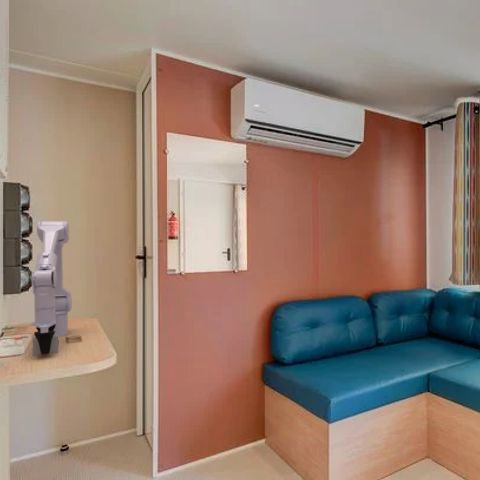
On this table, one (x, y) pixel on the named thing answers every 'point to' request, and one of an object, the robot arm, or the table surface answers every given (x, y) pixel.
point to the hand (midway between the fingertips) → (45, 350)
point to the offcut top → (73, 338)
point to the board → (52, 349)
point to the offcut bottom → (78, 341)
